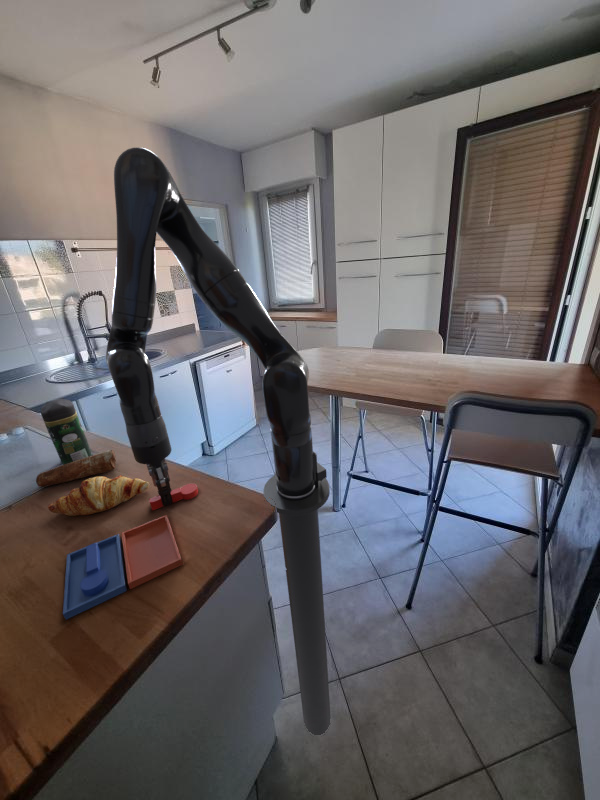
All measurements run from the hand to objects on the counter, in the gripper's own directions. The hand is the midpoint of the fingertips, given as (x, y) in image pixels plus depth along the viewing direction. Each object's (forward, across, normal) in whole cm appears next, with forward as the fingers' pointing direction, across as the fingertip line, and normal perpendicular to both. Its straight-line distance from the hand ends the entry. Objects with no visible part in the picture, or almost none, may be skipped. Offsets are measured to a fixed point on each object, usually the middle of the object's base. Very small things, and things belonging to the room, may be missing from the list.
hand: (167, 501), depth 78 cm
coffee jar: (+1, -37, -19) cm, 42 cm away
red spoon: (0, 0, +2) cm, 2 cm away
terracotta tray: (0, +13, -6) cm, 14 cm away
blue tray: (0, +13, -15) cm, 20 cm away
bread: (+1, -25, -18) cm, 31 cm away
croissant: (+1, -9, -13) cm, 16 cm away
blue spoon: (0, +13, -15) cm, 20 cm away
